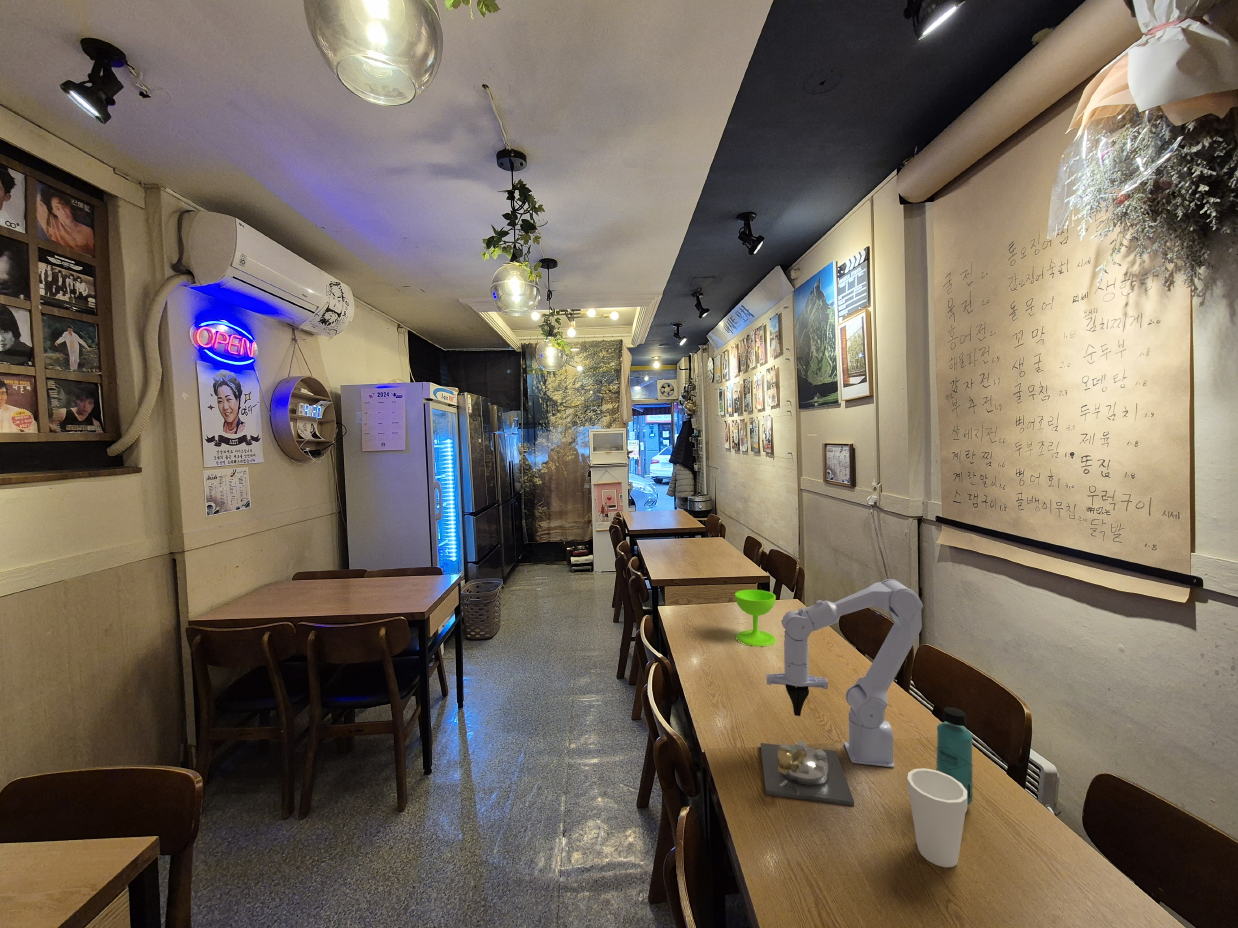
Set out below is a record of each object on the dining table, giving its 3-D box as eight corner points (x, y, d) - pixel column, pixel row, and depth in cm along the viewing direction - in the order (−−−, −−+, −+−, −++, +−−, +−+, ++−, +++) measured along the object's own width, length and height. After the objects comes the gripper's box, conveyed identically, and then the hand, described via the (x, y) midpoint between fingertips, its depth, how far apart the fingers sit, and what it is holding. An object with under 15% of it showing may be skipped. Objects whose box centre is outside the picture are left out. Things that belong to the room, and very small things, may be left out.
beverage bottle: (938, 788, 108) (937, 699, 108) (974, 801, 104) (974, 708, 103) (934, 804, 103) (933, 711, 102) (972, 819, 99) (972, 722, 98)
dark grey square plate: (835, 754, 120) (835, 750, 120) (854, 805, 103) (854, 800, 103) (760, 746, 124) (760, 742, 124) (766, 794, 107) (766, 789, 107)
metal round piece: (792, 748, 121) (792, 719, 121) (836, 769, 113) (836, 738, 113) (760, 775, 111) (759, 744, 111) (805, 800, 103) (804, 766, 103)
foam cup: (944, 832, 95) (943, 767, 95) (981, 872, 86) (980, 800, 86) (897, 834, 95) (896, 769, 95) (929, 875, 86) (928, 803, 86)
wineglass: (727, 636, 200) (726, 592, 200) (757, 629, 207) (757, 587, 206) (753, 649, 185) (752, 603, 185) (785, 642, 192) (784, 597, 192)
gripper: (823, 655, 124) (824, 708, 125) (765, 652, 128) (765, 703, 128) (829, 667, 117) (830, 723, 118) (767, 663, 121) (768, 717, 121)
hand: (797, 713), depth 122 cm, fingers closed
